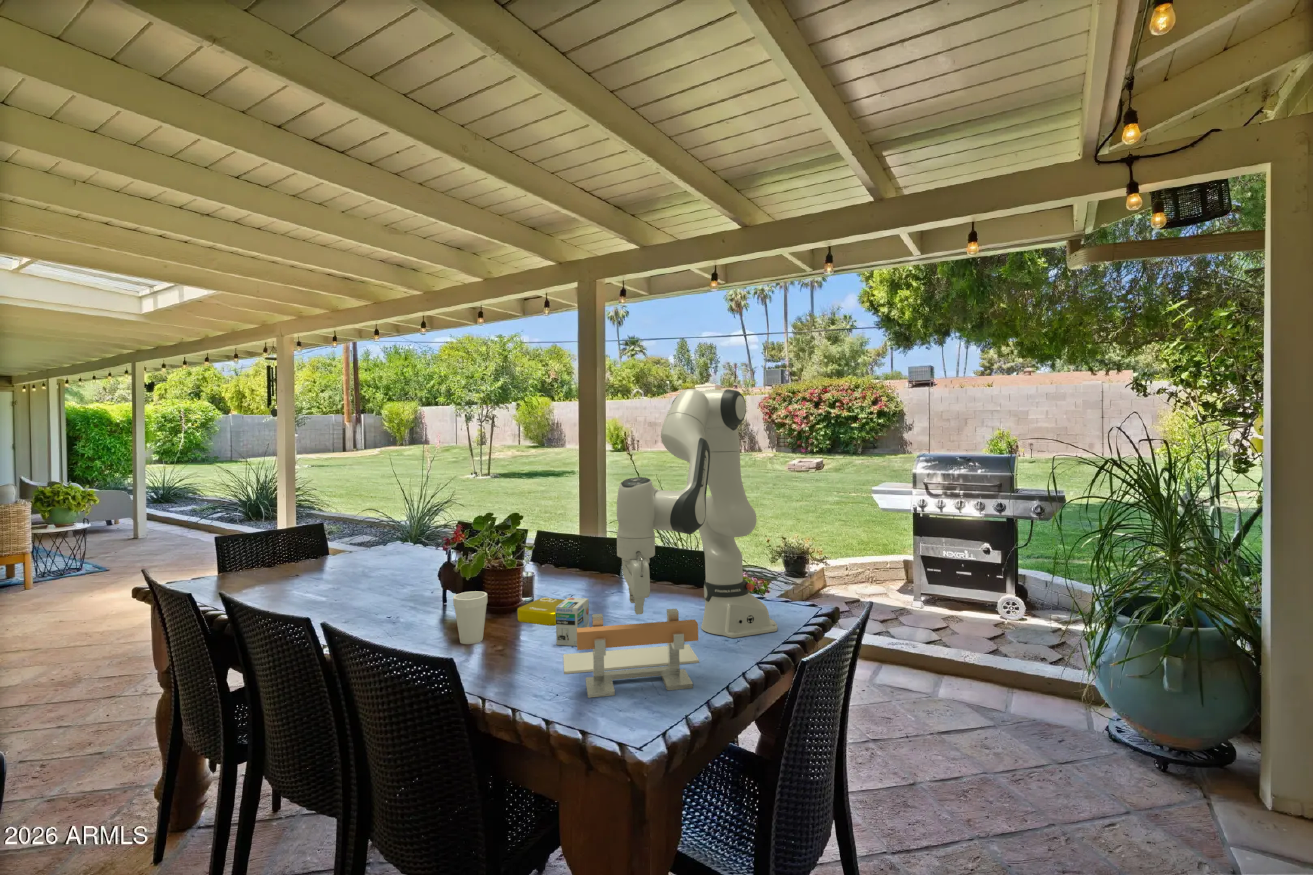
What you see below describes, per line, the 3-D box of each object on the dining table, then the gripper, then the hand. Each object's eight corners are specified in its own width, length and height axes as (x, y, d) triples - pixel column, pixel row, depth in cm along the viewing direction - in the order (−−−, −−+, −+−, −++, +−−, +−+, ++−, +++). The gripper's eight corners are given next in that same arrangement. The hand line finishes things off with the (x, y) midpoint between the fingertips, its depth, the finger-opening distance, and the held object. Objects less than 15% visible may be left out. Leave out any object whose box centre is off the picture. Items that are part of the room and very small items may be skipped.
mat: (688, 646, 167) (688, 644, 167) (699, 662, 155) (699, 660, 155) (563, 656, 161) (563, 654, 161) (564, 674, 150) (564, 671, 150)
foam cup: (494, 639, 176) (493, 594, 176) (465, 648, 169) (464, 601, 169) (477, 633, 182) (476, 589, 182) (448, 641, 176) (447, 596, 176)
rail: (695, 636, 145) (694, 619, 145) (698, 640, 142) (698, 623, 142) (576, 645, 141) (576, 628, 141) (577, 650, 138) (577, 632, 138)
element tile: (515, 622, 193) (514, 607, 193) (542, 609, 207) (542, 595, 207) (554, 627, 187) (554, 612, 187) (580, 614, 201) (580, 599, 201)
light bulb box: (578, 646, 169) (577, 608, 169) (555, 645, 170) (554, 607, 170) (590, 634, 179) (589, 597, 179) (568, 633, 181) (567, 596, 181)
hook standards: (684, 673, 149) (683, 607, 148) (693, 688, 140) (691, 618, 140) (585, 681, 145) (584, 614, 144) (587, 697, 136) (586, 626, 136)
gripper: (656, 556, 132) (657, 620, 131) (643, 540, 152) (643, 596, 152) (627, 557, 130) (627, 621, 130) (618, 541, 151) (618, 597, 151)
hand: (636, 607), depth 141 cm, fingers open, 8 cm apart
